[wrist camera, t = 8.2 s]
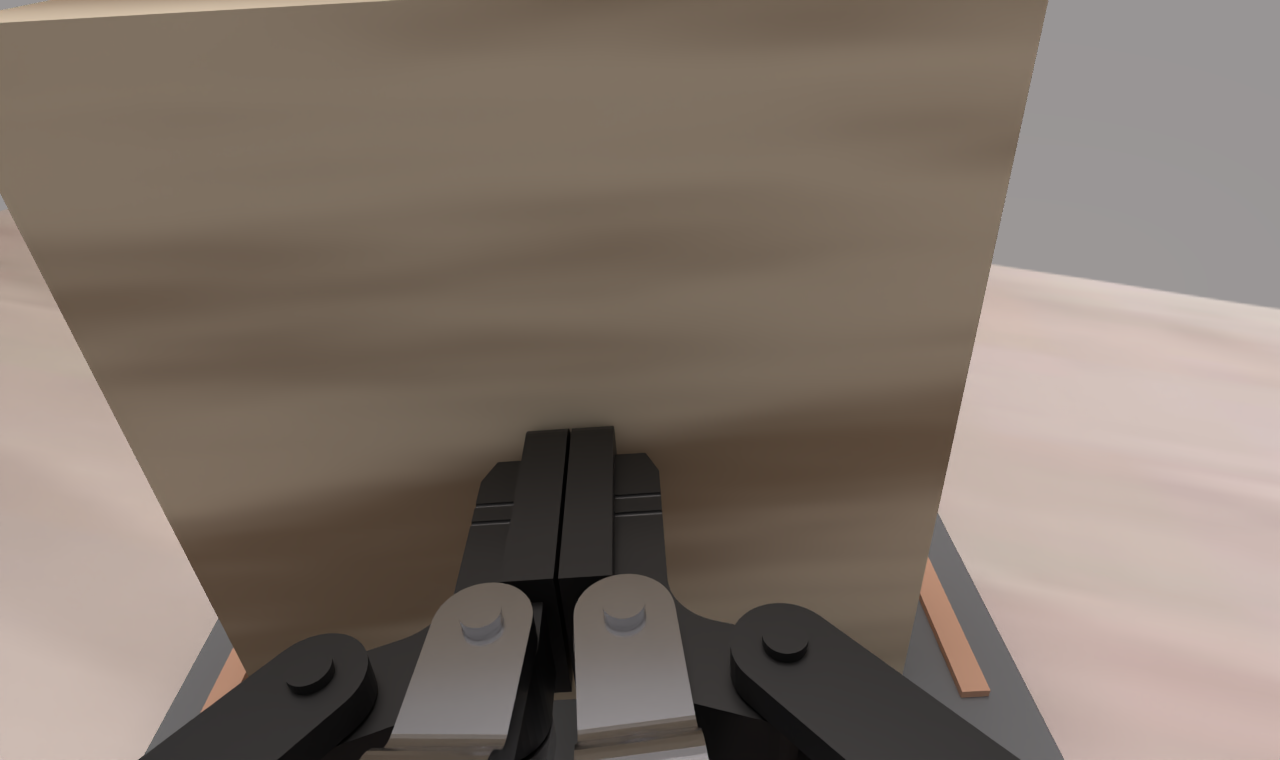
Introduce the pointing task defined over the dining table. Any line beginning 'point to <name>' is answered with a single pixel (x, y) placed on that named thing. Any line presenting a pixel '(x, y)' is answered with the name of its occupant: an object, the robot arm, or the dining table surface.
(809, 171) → the maple T block
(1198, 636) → the dining table surface
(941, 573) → the charcoal board
